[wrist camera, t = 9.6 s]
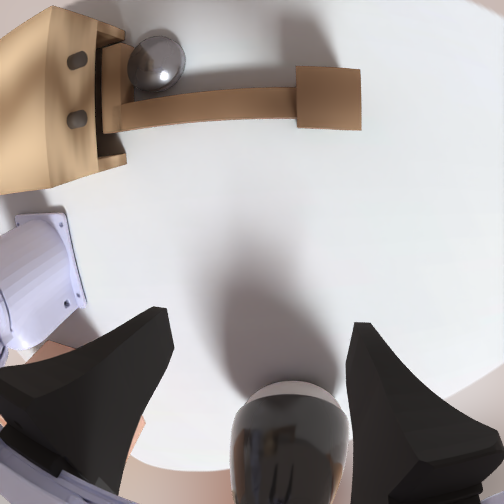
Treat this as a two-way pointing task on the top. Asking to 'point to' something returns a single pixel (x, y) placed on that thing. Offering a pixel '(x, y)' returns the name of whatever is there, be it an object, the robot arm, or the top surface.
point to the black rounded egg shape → (288, 446)
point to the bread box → (51, 101)
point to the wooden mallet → (233, 99)
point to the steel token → (156, 64)
